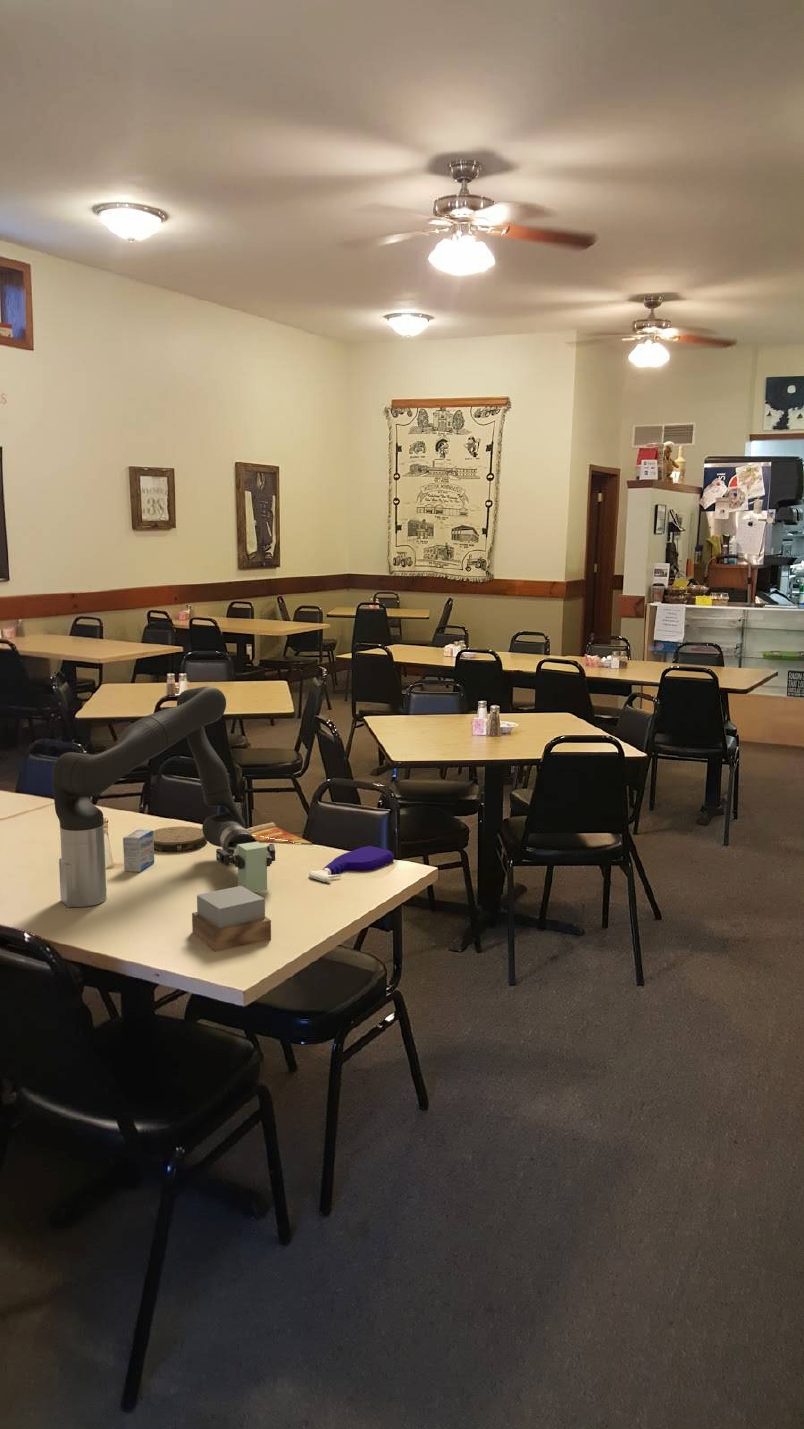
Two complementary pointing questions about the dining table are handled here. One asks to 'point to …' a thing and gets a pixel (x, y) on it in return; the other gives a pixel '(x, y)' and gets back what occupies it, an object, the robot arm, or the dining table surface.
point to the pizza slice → (274, 834)
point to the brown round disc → (178, 839)
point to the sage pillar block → (253, 866)
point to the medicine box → (138, 850)
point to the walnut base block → (231, 933)
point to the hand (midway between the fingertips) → (255, 863)
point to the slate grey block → (230, 906)
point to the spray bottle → (354, 862)
